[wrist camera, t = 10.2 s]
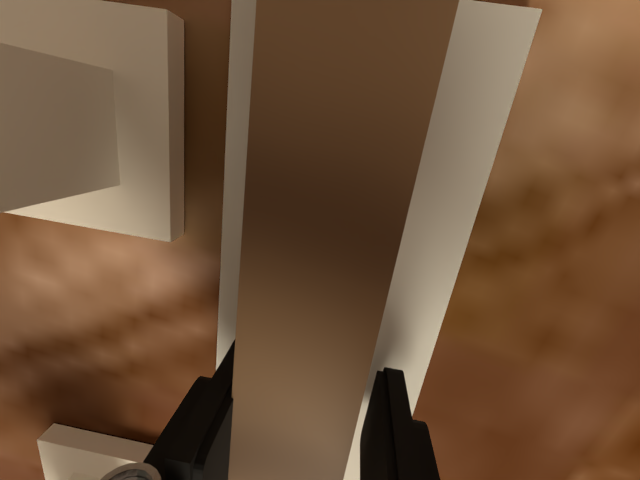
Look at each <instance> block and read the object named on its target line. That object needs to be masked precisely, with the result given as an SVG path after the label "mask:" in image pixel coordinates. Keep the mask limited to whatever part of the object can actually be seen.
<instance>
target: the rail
mask: <svg viewBox="0 0 640 480" xmlns="http://www.w3.org/2000/svg"><path fill="white" fill-rule="evenodd" d="M458 4H459V0H256V15H255V31H254V47H253V63H252V79H251V95H250V111H249V127H248V143H247V159H246V175H245V191H244V207H243V223H242V239H241V255H240V271H239V287H238V303H237V319H236V335H235V351H234V367H233V383H232V398H233V413H232V428H231V443H230V457H229V472H228V480H343V479H344V475H345V470H346V466H347V462H348V458H349V454H350V450H351V446H352V442H353V437H354V433H355V429H356V425H357V421H358V417H359V413H360V408H361V404H362V400H363V396H364V392H365V388H366V384H367V380H368V375H369V371H370V367H371V363H372V359H373V355H374V351H375V346H376V342H377V338H378V334H379V330H380V326H381V322H382V318H383V313H384V309H385V305H386V301H387V297H388V293H389V289H390V285H391V280H392V276H393V272H394V268H395V264H396V260H397V256H398V251H399V247H400V243H401V239H402V235H403V231H404V227H405V223H406V218H407V214H408V210H409V206H410V202H411V198H412V194H413V190H414V185H415V181H416V177H417V173H418V169H419V165H420V161H421V156H422V152H423V148H424V144H425V140H426V136H427V132H428V128H429V123H430V119H431V115H432V111H433V107H434V103H435V99H436V95H437V90H438V86H439V82H440V78H441V74H442V70H443V66H444V61H445V57H446V53H447V49H448V45H449V41H450V37H451V33H452V28H453V24H454V20H455V16H456V12H457V8H458Z"/></svg>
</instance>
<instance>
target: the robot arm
mask: <svg viewBox="0 0 640 480" xmlns="http://www.w3.org/2000/svg"><path fill="white" fill-rule="evenodd" d="M234 351H235V340H234V341H233V343H232V345H231V347H230V348H229V350H228V352H227V353H226V355H225V357H224V358H223V360H222V362H221V364H220V365H219V367H218V369H217V370H216V372H215V374H214V375H213V377H212V378H208V377H203V376H200V377H199V378H197V380H196V381H195V382H194V384H193V385H192V387H191V389H190V390H189V392H188V393H187V395H186V396H185V398H184V399H183V401H182V402H181V404H180V406H179V407H178V409H177V410H176V412H175V413H174V415H173V416H172V418H171V419H170V421H169V422H168V424H167V426H166V427H165V429H164V430H163V432H162V433H161V435H160V436H159V438H158V439H157V441H156V443H155V444H154V446H153V447H152V449H151V450H150V452H149V453H148V455H147V456H146V458H145V459H144V461H143V463H142V462H136V463H128V464H125V465H123V466H120V467H117V468H116V469H114V470H112V471H111V472H109V473H107V474H106V475H105V476H104V477H102V478H101V479H100V480H228V472H229V457H230V443H231V428H232V413H233V398H232V383H233V367H234ZM360 480H440V477H439V473H438V469H437V464H436V460H435V456H434V452H433V447H432V443H431V439H430V434H429V430H428V427H427V425H426V423H425V422H423V421H418V420H413V419H412V414H411V409H410V404H409V398H408V393H407V387H406V382H405V377H404V372H403V371H402V370H398V369H393V368H388V367H384V369H383V371H377V373H376V377H375V380H374V384H373V388H372V392H371V396H370V400H369V404H368V408H367V412H366V416H365V420H364V424H363V427H362V431H361V437H360Z"/></svg>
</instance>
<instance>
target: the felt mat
mask: <svg viewBox="0 0 640 480" xmlns="http://www.w3.org/2000/svg"><path fill="white" fill-rule="evenodd" d="M541 12H542V9H537V8H529V7H521V6H514V5H506V4H498V3H490V2H482V1H474V0H459V4H458V8H457V12H456V16H455V20H454V24H453V28H452V33H451V37H450V41H449V45H448V49H447V53H446V57H445V61H444V66H443V70H442V74H441V78H440V82H439V86H438V90H437V95H436V99H435V103H434V107H433V111H432V115H431V119H430V123H429V128H428V132H427V136H426V140H425V144H424V148H423V152H422V156H421V161H420V165H419V169H418V173H417V177H416V181H415V185H414V190H413V194H412V198H411V202H410V206H409V210H408V214H407V218H406V223H405V227H404V231H403V235H402V239H401V243H400V247H399V251H398V256H397V260H396V264H395V268H394V272H393V276H392V280H391V285H390V289H389V293H388V297H387V301H386V305H385V309H384V313H383V318H382V322H381V326H380V330H379V334H378V338H377V342H376V346H375V351H374V355H373V359H372V363H371V367H370V371H369V375H368V380H367V384H366V388H365V392H364V396H363V400H362V404H361V408H360V413H359V417H358V421H357V425H356V429H355V433H354V437H353V442H352V446H351V450H350V454H349V458H348V462H347V466H346V470H345V475H344V479H343V480H360V437H361V431H362V427H363V424H364V420H365V416H366V412H367V408H368V404H369V400H370V396H371V392H372V388H373V384H374V380H375V377H376V373H377V371H383V369H384V367H388V368H393V369H398V370H402V371H403V372H404V377H405V382H406V387H407V393H408V398H409V404H410V409H411V414H412V415H413V412H414V409H415V406H416V402H417V399H418V396H419V393H420V390H421V387H422V384H423V381H424V377H425V374H426V371H427V368H428V365H429V362H430V359H431V356H432V352H433V349H434V346H435V343H436V340H437V337H438V334H439V331H440V328H441V324H442V321H443V318H444V315H445V312H446V309H447V306H448V303H449V299H450V296H451V293H452V290H453V287H454V284H455V281H456V278H457V274H458V271H459V268H460V265H461V262H462V259H463V256H464V253H465V250H466V246H467V243H468V240H469V237H470V234H471V231H472V228H473V225H474V221H475V218H476V215H477V212H478V209H479V206H480V203H481V200H482V196H483V193H484V190H485V187H486V184H487V181H488V178H489V175H490V172H491V168H492V165H493V162H494V159H495V156H496V153H497V150H498V147H499V143H500V140H501V137H502V134H503V131H504V128H505V125H506V122H507V119H508V115H509V112H510V109H511V106H512V103H513V100H514V97H515V94H516V90H517V87H518V84H519V81H520V78H521V75H522V72H523V69H524V65H525V62H526V59H527V56H528V53H529V50H530V47H531V44H532V41H533V37H534V34H535V31H536V28H537V25H538V22H539V19H540V16H541ZM255 15H256V0H232V5H231V28H230V52H229V75H228V99H227V123H226V146H225V170H224V193H223V217H222V241H221V264H220V288H219V311H218V335H217V359H216V370H217V369H218V367H219V365H220V364H221V362H222V360H223V358H224V357H225V355H226V353H227V352H228V350H229V348H230V347H231V345H232V343H233V341H234V340H235V335H236V319H237V303H238V287H239V271H240V255H241V239H242V223H243V207H244V191H245V175H246V159H247V143H248V127H249V111H250V95H251V79H252V63H253V47H254V31H255Z"/></svg>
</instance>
